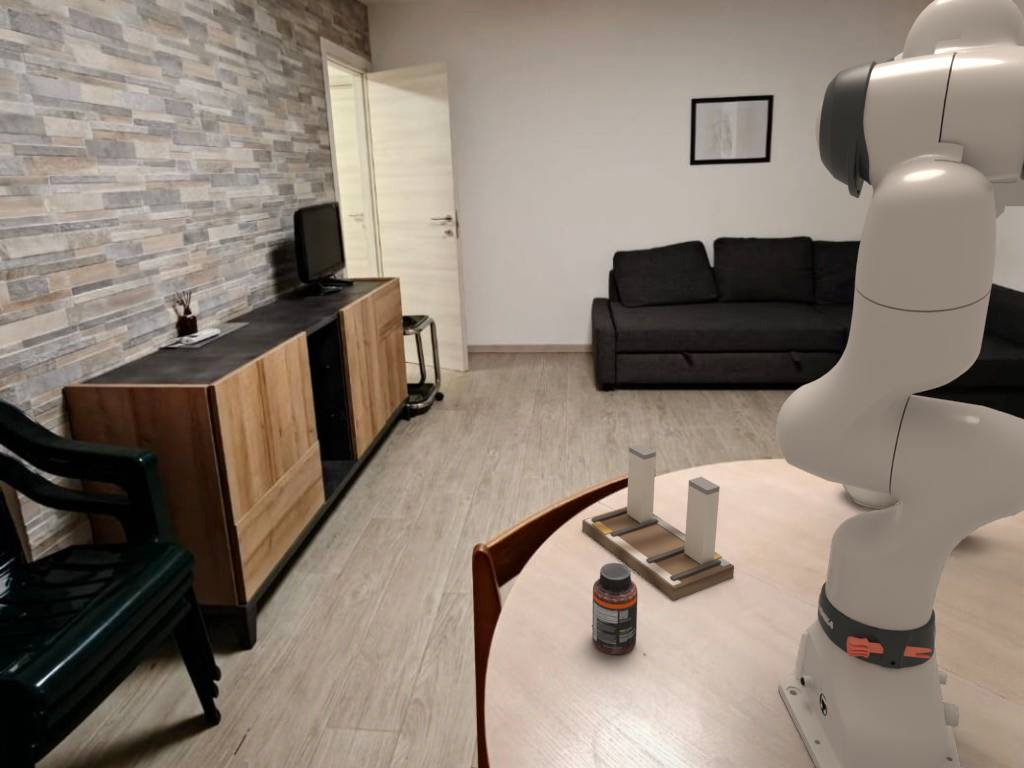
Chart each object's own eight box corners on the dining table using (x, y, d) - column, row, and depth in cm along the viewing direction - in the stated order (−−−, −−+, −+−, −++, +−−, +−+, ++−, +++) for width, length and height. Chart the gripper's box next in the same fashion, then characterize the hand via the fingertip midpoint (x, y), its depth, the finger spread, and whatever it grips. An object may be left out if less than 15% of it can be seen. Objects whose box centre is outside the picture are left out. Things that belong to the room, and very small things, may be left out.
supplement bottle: (609, 622, 103) (611, 552, 100) (644, 641, 99) (648, 569, 96) (583, 643, 99) (584, 571, 96) (618, 663, 95) (621, 588, 92)
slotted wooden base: (733, 577, 113) (734, 562, 113) (673, 600, 108) (674, 585, 107) (636, 513, 133) (637, 500, 133) (582, 530, 128) (582, 517, 127)
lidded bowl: (913, 495, 138) (922, 441, 135) (905, 523, 128) (915, 466, 125) (842, 479, 145) (849, 428, 141) (829, 505, 135) (836, 450, 131)
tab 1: (652, 519, 127) (655, 452, 123) (641, 523, 125) (644, 455, 121) (638, 510, 130) (640, 444, 126) (627, 513, 129) (629, 447, 125)
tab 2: (713, 560, 114) (719, 486, 110) (701, 564, 113) (707, 490, 109) (696, 548, 117) (701, 476, 113) (684, 553, 116) (688, 480, 112)
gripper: (882, 156, 111) (876, 235, 119) (1047, 153, 101) (1027, 240, 109) (888, 137, 115) (881, 215, 123) (1047, 132, 104) (1028, 218, 113)
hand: (951, 227), depth 116 cm, fingers open, 8 cm apart
